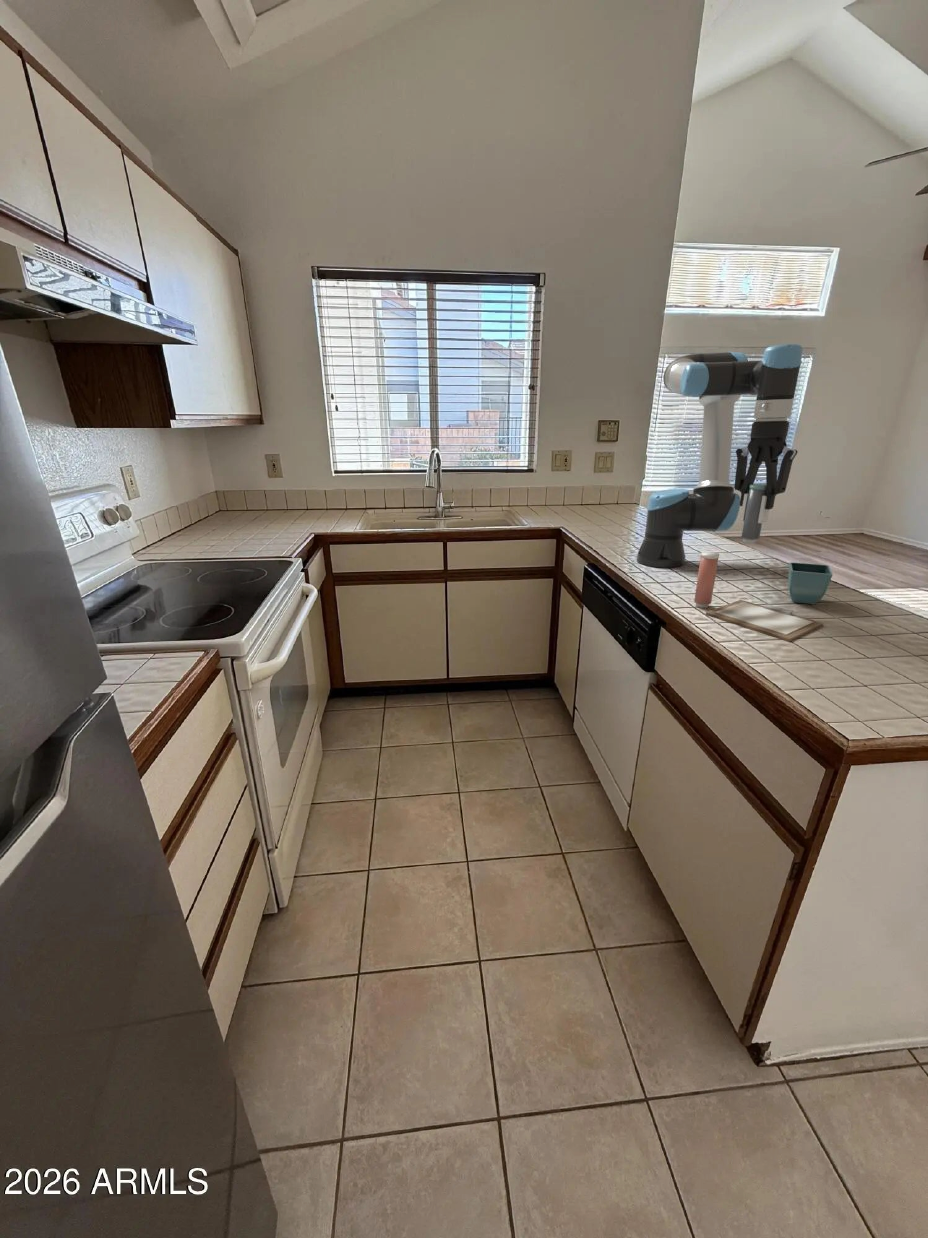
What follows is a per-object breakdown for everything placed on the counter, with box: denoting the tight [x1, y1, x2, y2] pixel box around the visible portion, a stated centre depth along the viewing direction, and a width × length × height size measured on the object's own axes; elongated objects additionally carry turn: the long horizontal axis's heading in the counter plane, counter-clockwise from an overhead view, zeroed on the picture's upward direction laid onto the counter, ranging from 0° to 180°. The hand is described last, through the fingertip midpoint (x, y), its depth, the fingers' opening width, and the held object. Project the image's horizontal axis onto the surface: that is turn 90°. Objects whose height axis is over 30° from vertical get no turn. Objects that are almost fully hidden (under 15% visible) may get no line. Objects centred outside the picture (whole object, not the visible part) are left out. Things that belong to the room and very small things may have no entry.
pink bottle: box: [694, 551, 720, 609], centre depth 130 cm, size 4×4×14 cm
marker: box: [741, 483, 766, 544], centre depth 127 cm, size 4×4×14 cm
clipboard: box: [705, 599, 824, 642], centre depth 123 cm, size 20×15×1 cm
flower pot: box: [787, 561, 833, 605], centre depth 133 cm, size 9×9×9 cm
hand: (753, 520), depth 127 cm, fingers closed on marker, 4 cm apart
